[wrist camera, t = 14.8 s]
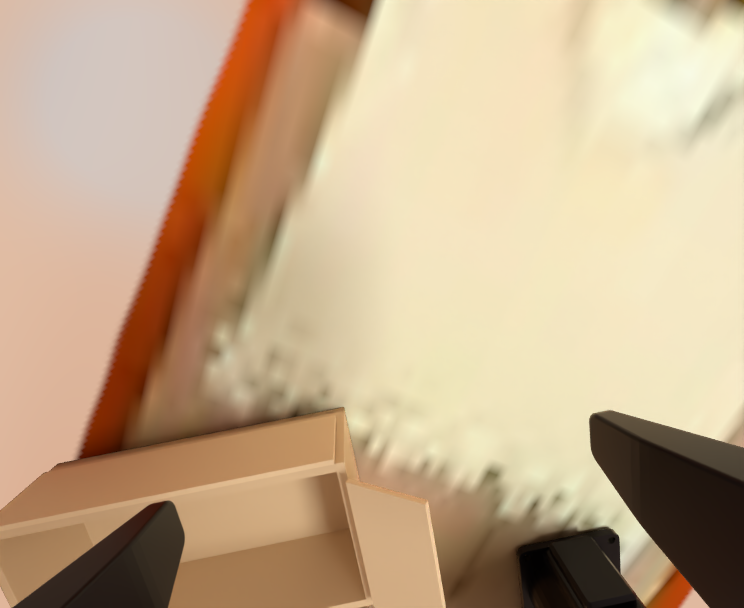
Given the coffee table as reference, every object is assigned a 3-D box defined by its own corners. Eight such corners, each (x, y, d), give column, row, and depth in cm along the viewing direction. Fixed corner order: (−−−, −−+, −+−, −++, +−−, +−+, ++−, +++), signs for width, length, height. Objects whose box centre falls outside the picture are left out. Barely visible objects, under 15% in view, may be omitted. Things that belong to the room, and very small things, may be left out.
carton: (370, 530, 24) (377, 615, 19) (108, 584, 24) (45, 686, 19) (342, 401, 22) (342, 457, 17) (55, 457, 22) (-33, 532, 16)
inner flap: (374, 609, 18) (377, 605, 18) (449, 646, 16) (451, 640, 16) (345, 482, 17) (348, 478, 17) (425, 504, 15) (427, 500, 15)
